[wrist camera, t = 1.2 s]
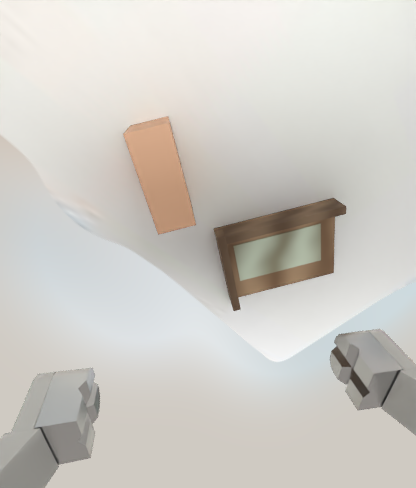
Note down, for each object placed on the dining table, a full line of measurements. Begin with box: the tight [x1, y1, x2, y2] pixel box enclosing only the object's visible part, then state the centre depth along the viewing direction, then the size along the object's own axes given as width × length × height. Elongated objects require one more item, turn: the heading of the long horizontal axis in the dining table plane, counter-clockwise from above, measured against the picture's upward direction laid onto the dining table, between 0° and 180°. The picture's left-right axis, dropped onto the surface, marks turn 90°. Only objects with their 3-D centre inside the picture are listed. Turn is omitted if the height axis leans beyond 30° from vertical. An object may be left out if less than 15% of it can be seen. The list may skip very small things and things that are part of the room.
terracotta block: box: [123, 116, 196, 234], centre depth 29 cm, size 4×10×6 cm, turn 12°
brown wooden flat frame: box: [214, 198, 346, 311], centre depth 38 cm, size 16×12×3 cm
